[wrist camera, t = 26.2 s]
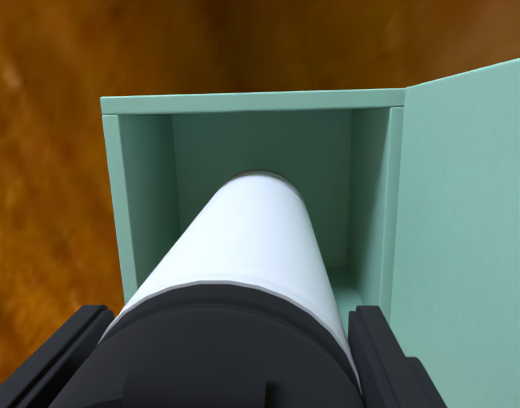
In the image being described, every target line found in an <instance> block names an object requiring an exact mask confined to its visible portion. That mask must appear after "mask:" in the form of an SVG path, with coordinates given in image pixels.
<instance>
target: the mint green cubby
mask: <svg viewBox="0 0 520 408" xmlns="http://www.w3.org/2000/svg"><path fill="white" fill-rule="evenodd" d="M405 89H406V88H394V89H359V90H325V91H290V92H256V93H221V94H187V95H152V96H118V97H101V98H100V102H101V111H102V114H103V115H102V120H103V128H104V136H105V144H106V153H107V161H108V169H109V177H110V185H111V193H112V201H113V209H114V218H115V226H116V234H117V242H118V250H119V258H120V266H121V274H122V283H123V291H124V299H125V305H126V304H127V303H128V302H129V300H130V299H131V298H132V297H133V295H134V294H135V293H136V292H137V291H138V289H139V288H140V287H141V286H142V284H143V283H144V282H145V281H146V279H147V278H148V277H149V276H150V274H151V273H152V272H153V271H154V269H155V268H156V267H157V266H158V264H159V263H160V262H161V261H162V259H163V258H164V257H165V256H166V254H167V253H168V252H169V251H170V250H171V248H172V247H173V246H174V245H175V243H176V242H177V241H178V240H179V238H180V237H181V236H182V235H183V233H184V232H185V231H186V230H187V228H188V227H189V226H190V225H191V223H192V222H193V221H194V220H195V218H196V217H197V216H198V215H199V213H200V212H201V211H202V210H203V208H204V207H205V206H206V205H207V204H208V202H209V201H210V200H211V199H212V197H213V196H214V195H215V194H216V192H217V191H218V190H219V189H220V187H221V186H222V185H223V184H224V183H225V182H226V181H227V180H228V179H230V178H231V177H232V176H234V175H235V174H238V173H240V172H242V171H246V170H250V169H267V170H272V171H275V172H277V173H280V174H282V175H283V176H285V177H286V178H288V179H289V180H290V181H291V182H292V183H293V184H294V185H295V186H296V187H297V188H298V190H299V191H300V193H301V195H302V197H303V199H304V202H305V205H306V208H307V211H308V215H309V218H310V221H311V224H312V228H313V231H314V234H315V237H316V240H317V244H318V247H319V250H320V253H321V256H322V260H323V263H324V266H325V269H326V272H327V276H328V279H329V282H330V285H331V289H332V292H333V295H334V298H335V301H336V305H337V308H338V311H339V314H340V317H341V321H342V324H343V327H344V330H345V334H346V337H347V340H348V317H349V311H356V306H357V305H378V306H379V307H380V309H381V311H382V313H383V315H384V316H385V318H386V320H387V322H388V324H389V326H390V315H391V299H392V284H393V269H394V254H395V238H396V223H397V208H398V192H399V177H400V162H401V147H402V131H403V116H404V101H405Z"/></svg>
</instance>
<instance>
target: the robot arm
mask: <svg viewBox="0 0 520 408" xmlns="http://www.w3.org/2000/svg"><path fill="white" fill-rule="evenodd" d="M114 319H115V317H114V313H113V311H112V310H108V308H107V306H105V305H83V306H82V307H81V308H80V309H79V310H78V311H76V312H75V313H74V314H73V315H72V316H71V317H70V318H69V319H68V320H67V321H66V322H65V323H64V324H63V325H62V326H61V327H60V328H59V329H58V330H57V331H56V332H55V333H54V334H53V335H52V336H51V337H50V338H49V339H48V340H47V341H46V342H45V343H44V344H43V345H42V346H41V347H40V348H39V349H37V350H36V351H35V352H34V353H33V354H32V355H31V356H30V357H29V358H28V359H27V360H26V361H25V362H24V363H23V364H22V365H21V366H20V367H19V368H18V369H17V370H16V371H15V372H14V373H13V374H12V375H11V376H10V377H9V378H8V379H7V380H6V381H5V382H4V383H3V384H2V385H1V386H0V408H48V407H49V406H50V404H51V403H52V402H53V401H54V399H55V398H56V397H57V395H58V394H59V393H60V392H61V390H62V389H63V388H64V387H65V385H66V384H67V383H68V381H69V380H70V379H71V378H72V376H73V375H74V374H75V373H76V371H77V370H78V369H79V367H80V366H81V365H82V364H83V363H84V361H85V360H86V359H87V358H88V357H89V356H90V355H91V354H92V352H93V351H94V349H95V347H96V346H97V344H98V343H99V341H100V339H101V337H102V336H103V334H104V332H105V331H106V329H107V328H108V327H109V325H110V324H111V323H112V322H113V320H114ZM348 343H349V346H350V350H351V354H352V358H353V361H354V363H355V366H356V369H357V372H358V376H359V381H360V386H361V391H362V400H363V405H364V408H448V407H447V406H446V404H445V402H444V401H443V399H442V397H441V395H440V394H439V392H438V390H437V388H436V387H435V385H434V383H433V381H432V380H431V378H430V376H429V375H428V373H427V371H426V369H425V368H424V366H423V364H422V362H421V361H420V360H419V358H417V357H406V356H405V354H404V353H403V351H402V349H401V347H400V345H399V343H398V341H397V339H396V337H395V335H394V334H393V332H392V330H391V328H390V326H389V324H388V322H387V320H386V318H385V316H384V315H383V313H382V311H381V309H380V307H379V306H378V305H357V306H356V311H349V317H348Z"/></svg>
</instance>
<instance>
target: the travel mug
mask: <svg viewBox="0 0 520 408" xmlns="http://www.w3.org/2000/svg"><path fill="white" fill-rule="evenodd" d="M48 408H364V405H363V400H362V391H361V386H360V381H359V376H358V372H357V369H356V366H355V363H354V361H353V358H352V354H351V350H350V346H349V343H348V340H347V337H346V334H345V330H344V327H343V324H342V321H341V317H340V314H339V311H338V308H337V305H336V301H335V298H334V295H333V292H332V289H331V285H330V282H329V279H328V276H327V272H326V269H325V266H324V263H323V260H322V256H321V253H320V250H319V247H318V244H317V240H316V237H315V234H314V231H313V228H312V224H311V221H310V218H309V215H308V211H307V208H306V205H305V202H304V199H303V197H302V195H301V193H300V191H299V190H298V188H297V187H296V186H295V185H294V184H293V183H292V182H291V181H290V180H289V179H288V178H286V177H285V176H283V175H282V174H280V173H277V172H275V171H272V170H267V169H250V170H246V171H242V172H240V173H238V174H235V175H234V176H232V177H231V178H230V179H228V180H227V181H226V182H225V183H224V184H223V185H222V186H221V187H220V189H219V190H218V191H217V192H216V194H215V195H214V196H213V197H212V199H211V200H210V201H209V202H208V204H207V205H206V206H205V207H204V208H203V210H202V211H201V212H200V213H199V215H198V216H197V217H196V218H195V220H194V221H193V222H192V223H191V225H190V226H189V227H188V228H187V230H186V231H185V232H184V233H183V235H182V236H181V237H180V238H179V240H178V241H177V242H176V243H175V245H174V246H173V247H172V248H171V250H170V251H169V252H168V253H167V254H166V256H165V257H164V258H163V259H162V261H161V262H160V263H159V264H158V266H157V267H156V268H155V269H154V271H153V272H152V273H151V274H150V276H149V277H148V278H147V279H146V281H145V282H144V283H143V284H142V286H141V287H140V288H139V289H138V291H137V292H136V293H135V294H134V295H133V297H132V298H131V299H130V300H129V302H128V303H127V304H126V305H125V307H124V308H123V309H122V311H121V312H120V314H119V315H118V316H117V317H116V318H115V319H114V320H113V322H112V323H111V324H110V325H109V327H108V328H107V329H106V331H105V332H104V334H103V336H102V337H101V339H100V341H99V343H98V344H97V346H96V347H95V349H94V351H93V352H92V354H91V355H90V356H89V357H88V358H87V359H86V360H85V361H84V363H83V364H82V365H81V366H80V367H79V369H78V370H77V371H76V373H75V374H74V375H73V376H72V378H71V379H70V380H69V381H68V383H67V384H66V385H65V387H64V388H63V389H62V390H61V392H60V393H59V394H58V395H57V397H56V398H55V399H54V401H53V402H52V403H51V404H50V406H49V407H48Z"/></svg>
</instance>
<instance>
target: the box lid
mask: <svg viewBox="0 0 520 408" xmlns="http://www.w3.org/2000/svg"><path fill="white" fill-rule="evenodd" d="M390 328H391V330H392V332H393V334H394V335H395V337H396V339H397V341H398V343H399V345H400V347H401V349H402V351H403V353H404V354H405V356H406V357H417V358H419V360H420V361H421V362H422V364H423V366H424V368H425V369H426V371H427V373H428V375H429V376H430V378H431V380H432V381H433V383H434V385H435V387H436V388H437V390H438V392H439V394H440V395H441V397H442V399H443V401H444V402H445V404H446V406H447V407H448V408H520V58H518V59H514V60H510V61H506V62H502V63H499V64H495V65H491V66H487V67H483V68H479V69H476V70H472V71H468V72H464V73H460V74H457V75H453V76H449V77H445V78H441V79H437V80H434V81H430V82H426V83H422V84H418V85H414V86H411V87H407V88H406V89H405V101H404V116H403V131H402V147H401V162H400V177H399V192H398V208H397V223H396V238H395V254H394V269H393V284H392V299H391V315H390Z"/></svg>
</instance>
